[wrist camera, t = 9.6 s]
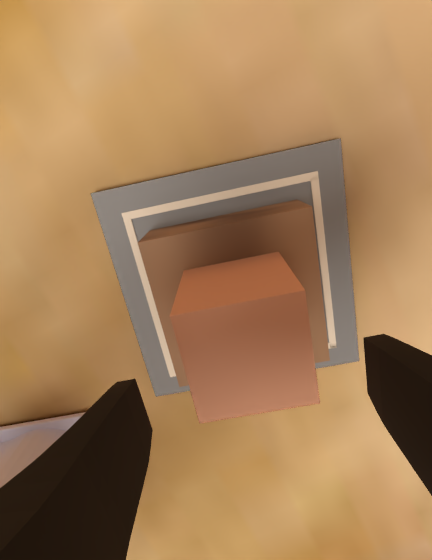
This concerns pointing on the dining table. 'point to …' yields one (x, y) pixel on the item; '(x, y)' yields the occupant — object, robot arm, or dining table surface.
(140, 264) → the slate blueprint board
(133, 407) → the robot arm
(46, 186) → the dining table surface
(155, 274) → the walnut base block
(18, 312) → the dining table surface
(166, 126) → the dining table surface
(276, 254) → the terracotta block
